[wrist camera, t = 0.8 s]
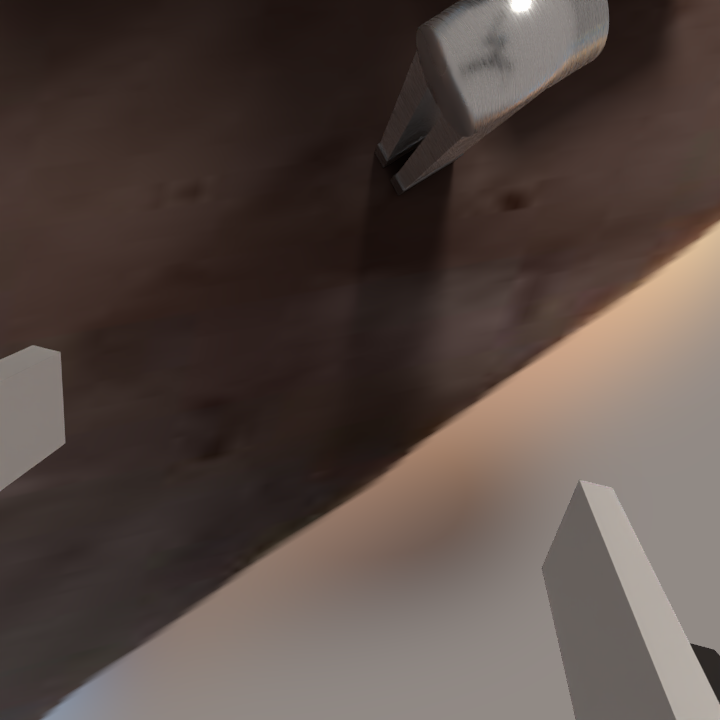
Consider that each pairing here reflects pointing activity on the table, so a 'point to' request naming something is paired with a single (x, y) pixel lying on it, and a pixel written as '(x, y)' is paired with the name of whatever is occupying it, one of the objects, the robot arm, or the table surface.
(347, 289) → the table surface
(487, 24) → the tongs
